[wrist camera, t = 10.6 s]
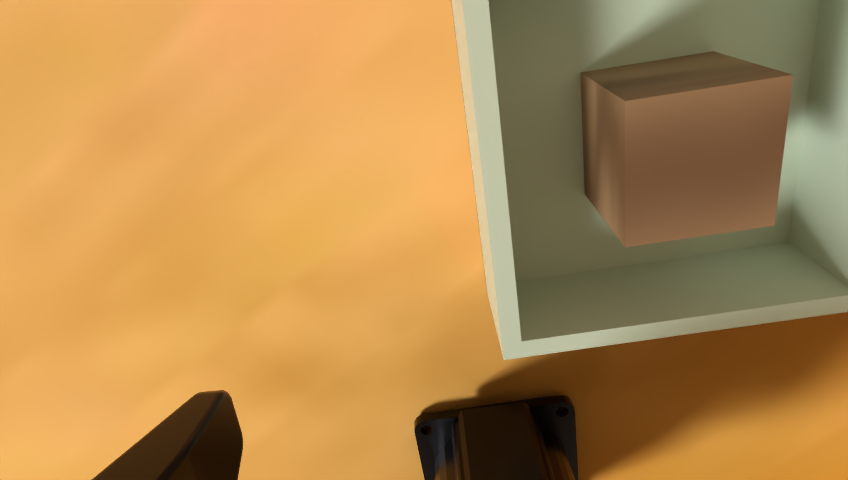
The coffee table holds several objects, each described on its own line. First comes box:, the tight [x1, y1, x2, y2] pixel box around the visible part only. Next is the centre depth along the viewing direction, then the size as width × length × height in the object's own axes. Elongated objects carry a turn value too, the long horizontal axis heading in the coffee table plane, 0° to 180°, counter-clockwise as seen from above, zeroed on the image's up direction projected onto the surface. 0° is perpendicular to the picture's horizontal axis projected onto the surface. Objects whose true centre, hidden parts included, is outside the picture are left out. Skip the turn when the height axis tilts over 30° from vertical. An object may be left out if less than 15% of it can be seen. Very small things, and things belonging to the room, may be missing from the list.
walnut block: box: [580, 51, 793, 247], centre depth 17 cm, size 4×4×4 cm
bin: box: [452, 0, 848, 360], centre depth 17 cm, size 11×11×4 cm
